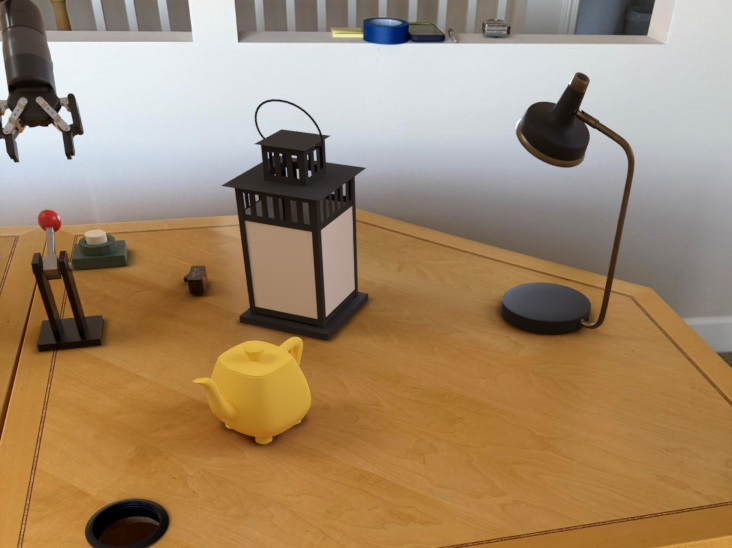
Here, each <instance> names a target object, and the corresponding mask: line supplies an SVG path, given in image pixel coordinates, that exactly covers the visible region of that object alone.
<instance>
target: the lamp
mask: <svg viewBox="0 0 732 548" xmlns="http://www.w3.org/2000/svg"><path fill="white" fill-rule="evenodd" d="M590 82H591V80H590V77H589V76H588V74H585V73H584V72H581V71H577V72H575V73H574V75H573V76H572V77H571V79H570V80H569V83H568V85H567V86H566V88H565V89H564V91H563V92H562V94H561V95H560V97H559V99H558V101H557V102H552V101H537V102H534V103H532V104H530V105H529V106H528V108H527V109H526V110H525V112H524V113H523V114H522V116H521V118H520V119H519V120H518V121H517V122H516V124H515V135H516V138H517V140H518V142H519V143H520V145H521V146H522V147H523V148H524V149H525V150H526V152H527V153H528V154H530V155H531V156H533V157H534V158H536V159H537V160H539V161H541V162H542V163H545V164H547V165H550V166H552V167H557V168H563V169H570V168H575V167H577V166H579V165H581V164H582V163H583V162H584V159H585V158H586V151H587V149H588V146H589V143H590V140H591V135H590V129H589V128H588V126H589V127H590V128H592V129H594V130H597V131H598V132H600V133H601V134H603V135H605V136H606V137H608V138H609V139H610V140H611V141H613V142H615V143H616V144H617V145H619V147H621V148H622V149H623V151H624V153H625V155H626V160H627V172H626V177H625V183H624V187H623V193H622V198H621V202H620V209H619V213H618V219H617V224H616V228H615V229H616V230H615V233H614V239H613V244H612V250H611V254H610V260H609V264H608V271H607V274H606V275H607V276H606V281H605V287H604V291H603V296H602V303H601V307H600V310H599V316H598V318H597V320H596V321H595V322H594V323H591V322H590V317H591V315H590V314H591V308H592V303H591V301H590V299H589V298H588V297H587V296H586V295H585V294H584V293H582V292H581V291H579V290H577V289H575V288H572V287H570V286H567V285H563V284H559V283H552V282H527V283H522V284H518V285H515V286H512V287H510V288H509V289H507V290H506V291H505V292H504V293H503V295H502V297H501V304H500V309H499V313H500V316H501V317H502V319H503V320H504V321H505V322H507V323H508V324H509V325H511V326H513V327H514V328H517V329H519V330H522V331H525V332H528V333H533V334H537V335H550V336H551V335H552V336H553V335H565V334H570V333H573V332H576V331H579V330H581V329H583V328H585V329H588V330H595V329H598V328H599V327H601V326H602V325H603V323H604V322H605V319H606V315H607V311H608V307H609V302H610V298H611V292H612V286H613V283H614V278H615V277H614V276H615V272H616V268H617V261H618V258H619V257H618V256H619V251H620V248H621V247H620V246H621V241H622V236H623V231H624V226H625V221H626V216H627V211H628V205H629V201H630V200H629V199H630V196H631V190H632V184H633V179H634V175H635V164H636V161H635V156H634V155H635V154H634V151H633V148H632V146H631V145H630V143H629V142H628V141H627V140H626V139H625V138H624V137H623V136H622V135H620V134H619V133H617V132H616V131H614V130H613V129H611V128H610V127H608V126H606V125H605V124H603V123H602V122H601V121H600V120H599V119H598V118H596V117H594V116H593V115H591V114H590V113H588V112H587V111H585V110H583V109H581V105H582V103H583V100H584V97H585V95H586V92H587V90H588V87H589V85H590Z"/></svg>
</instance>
